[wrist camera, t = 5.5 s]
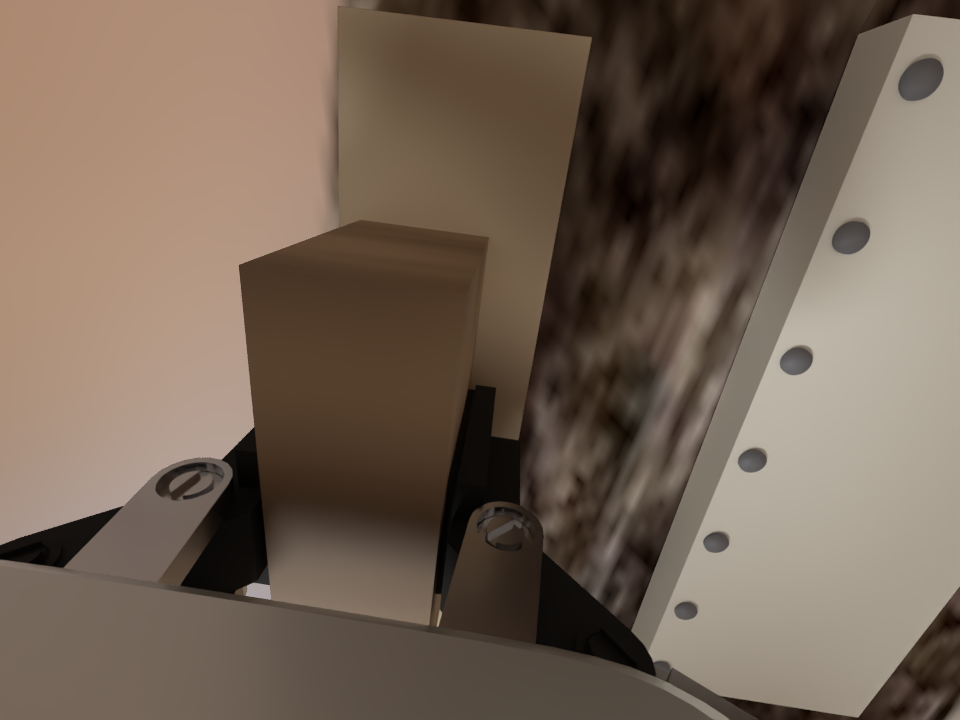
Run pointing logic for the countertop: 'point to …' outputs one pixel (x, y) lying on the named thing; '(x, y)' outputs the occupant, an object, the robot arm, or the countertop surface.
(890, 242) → the board
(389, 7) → the countertop surface
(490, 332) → the stub
